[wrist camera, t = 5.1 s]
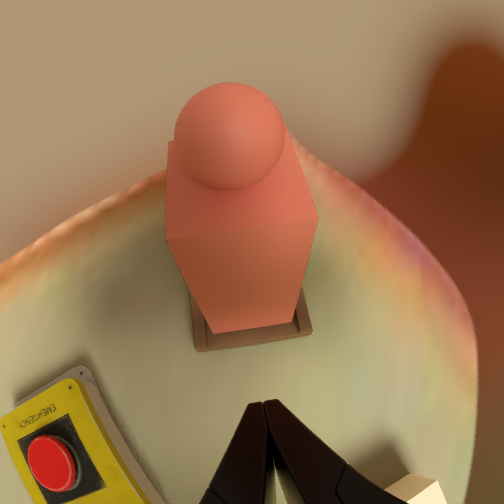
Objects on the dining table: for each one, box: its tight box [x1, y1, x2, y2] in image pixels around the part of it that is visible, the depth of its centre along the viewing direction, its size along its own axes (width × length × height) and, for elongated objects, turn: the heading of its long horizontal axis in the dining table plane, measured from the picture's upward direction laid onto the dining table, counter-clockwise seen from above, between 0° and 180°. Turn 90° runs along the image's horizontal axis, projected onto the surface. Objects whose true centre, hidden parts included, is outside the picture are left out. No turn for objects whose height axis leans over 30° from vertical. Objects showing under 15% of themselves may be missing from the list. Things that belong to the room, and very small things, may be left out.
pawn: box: [166, 83, 319, 334], centre depth 14 cm, size 5×5×15 cm
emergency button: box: [0, 365, 168, 504], centre depth 14 cm, size 9×4×15 cm
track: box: [190, 286, 313, 352], centre depth 23 cm, size 14×8×2 cm, turn 9°
